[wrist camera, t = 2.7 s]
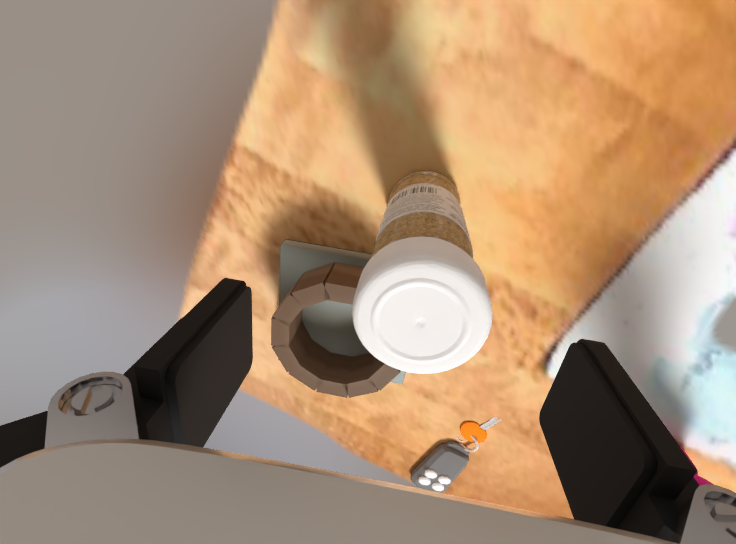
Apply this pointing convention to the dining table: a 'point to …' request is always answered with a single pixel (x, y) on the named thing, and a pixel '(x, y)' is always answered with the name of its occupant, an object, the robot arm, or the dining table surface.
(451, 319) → the sprinkles bottle
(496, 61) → the dining table surface
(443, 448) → the key chain
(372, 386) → the collar
